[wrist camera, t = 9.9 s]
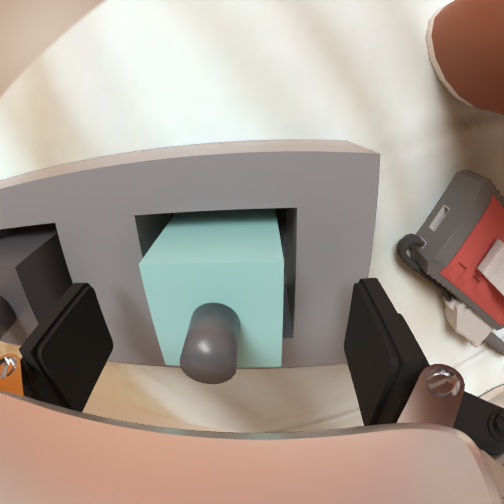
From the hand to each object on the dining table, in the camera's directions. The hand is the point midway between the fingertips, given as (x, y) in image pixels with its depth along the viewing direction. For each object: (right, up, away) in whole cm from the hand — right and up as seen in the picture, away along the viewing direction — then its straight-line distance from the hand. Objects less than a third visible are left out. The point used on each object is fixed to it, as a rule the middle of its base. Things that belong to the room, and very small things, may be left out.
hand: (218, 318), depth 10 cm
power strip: (-5, +3, +6) cm, 8 cm away
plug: (0, +3, +6) cm, 7 cm away
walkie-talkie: (+19, 0, +7) cm, 20 cm away
